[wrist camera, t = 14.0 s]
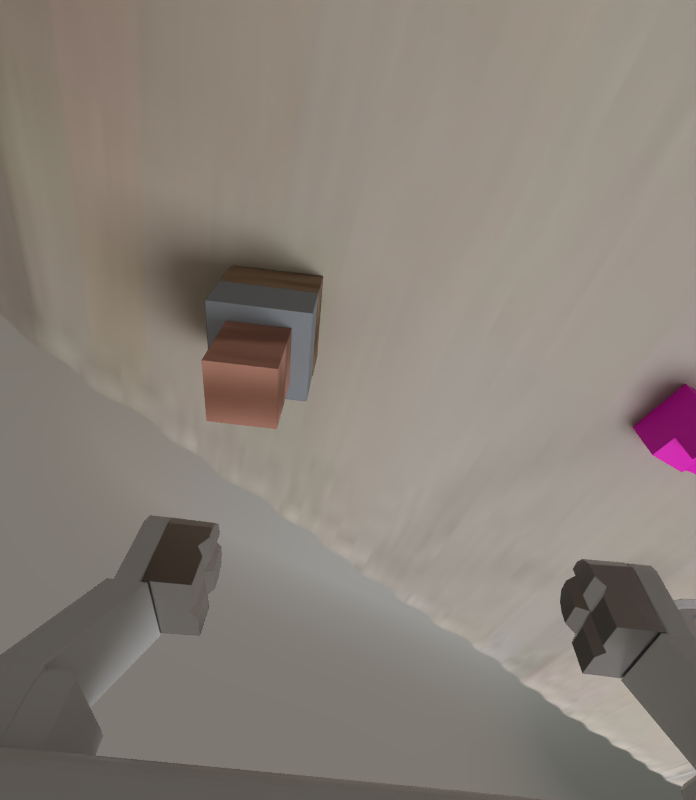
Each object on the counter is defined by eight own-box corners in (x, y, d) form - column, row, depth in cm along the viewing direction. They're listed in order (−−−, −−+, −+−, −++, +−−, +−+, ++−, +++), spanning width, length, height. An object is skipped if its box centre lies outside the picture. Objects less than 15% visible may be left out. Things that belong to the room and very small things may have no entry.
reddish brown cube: (225, 320, 36) (201, 360, 31) (291, 328, 36) (278, 369, 31) (228, 376, 39) (206, 420, 34) (289, 383, 39) (276, 428, 34)
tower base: (232, 264, 42) (220, 280, 38) (323, 274, 42) (318, 292, 38) (235, 344, 46) (224, 365, 43) (317, 354, 46) (312, 375, 43)
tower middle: (219, 280, 38) (204, 300, 35) (318, 293, 39) (312, 313, 35) (223, 365, 43) (210, 390, 40) (311, 376, 43) (306, 401, 40)
